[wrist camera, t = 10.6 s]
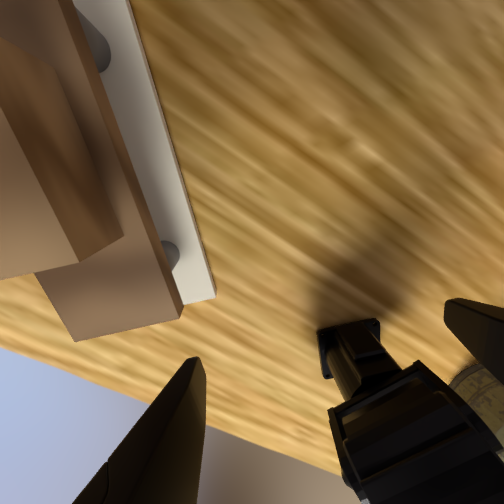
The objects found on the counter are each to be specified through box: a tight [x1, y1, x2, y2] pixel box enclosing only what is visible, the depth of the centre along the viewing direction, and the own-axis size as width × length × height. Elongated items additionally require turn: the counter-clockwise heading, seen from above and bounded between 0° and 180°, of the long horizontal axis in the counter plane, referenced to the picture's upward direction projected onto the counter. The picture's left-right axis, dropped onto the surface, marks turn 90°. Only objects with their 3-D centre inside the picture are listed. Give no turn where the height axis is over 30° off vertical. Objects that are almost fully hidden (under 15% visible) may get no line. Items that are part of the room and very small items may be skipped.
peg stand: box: [72, 0, 217, 305], centre depth 15 cm, size 24×10×5 cm, turn 12°
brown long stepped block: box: [0, 0, 184, 342], centre depth 11 cm, size 20×7×6 cm, turn 12°
